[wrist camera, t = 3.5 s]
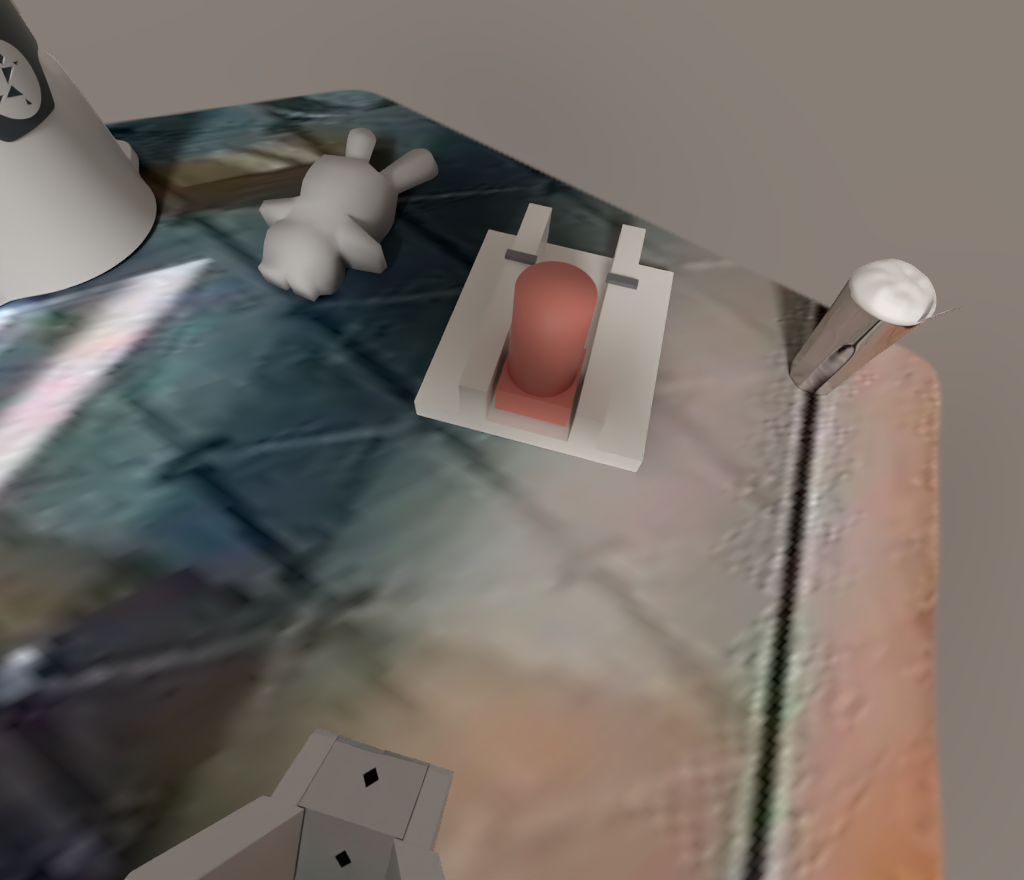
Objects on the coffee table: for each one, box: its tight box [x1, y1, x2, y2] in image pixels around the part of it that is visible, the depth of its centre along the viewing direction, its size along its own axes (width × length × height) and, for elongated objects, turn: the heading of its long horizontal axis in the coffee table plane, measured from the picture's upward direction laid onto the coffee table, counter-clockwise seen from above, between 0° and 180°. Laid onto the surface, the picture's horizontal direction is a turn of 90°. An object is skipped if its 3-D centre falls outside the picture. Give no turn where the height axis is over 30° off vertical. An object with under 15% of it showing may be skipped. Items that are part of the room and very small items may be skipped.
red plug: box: [495, 261, 598, 427], centre depth 29 cm, size 4×4×8 cm
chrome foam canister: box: [790, 259, 961, 395], centre depth 32 cm, size 4×5×10 cm
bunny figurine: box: [258, 128, 438, 301], centre depth 39 cm, size 10×5×15 cm
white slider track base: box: [414, 203, 674, 472], centre depth 34 cm, size 14×16×5 cm
